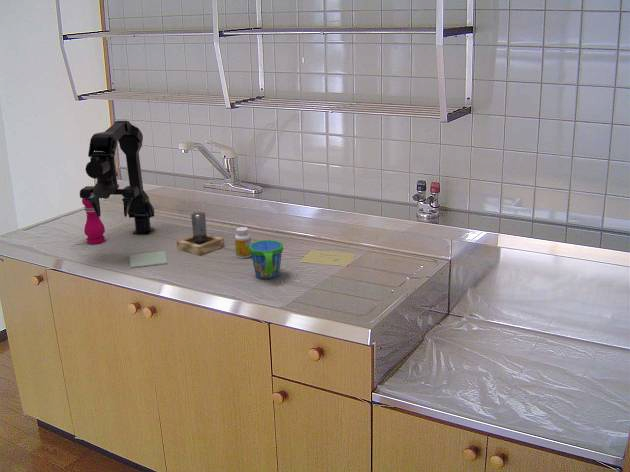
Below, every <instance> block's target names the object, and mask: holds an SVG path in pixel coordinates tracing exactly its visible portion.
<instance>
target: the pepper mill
mask: <svg viewBox="0 0 630 472" xmlns="http://www.w3.org/2000/svg"><path fill="white" fill-rule="evenodd" d="M84 199H85V198H81V203H82V205H83V206H84V212H85V213H86V222H85V225H84V234H85V236H86V241H87V244H89V245H100V244H103V243H104V242H105V241H106V239H105V235H104V234H105V232H106V229H105V226H104V223H103V222H102V220H101V218H100V217H98V215H97V214H96V212H95V210H94V208H93V206H92V205H91V203H90V202H88V201H87V200H84Z"/></svg>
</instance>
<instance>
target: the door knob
mask: <svg viewBox="0 0 630 472" xmlns="http://www.w3.org/2000/svg"><path fill="white" fill-rule="evenodd" d="M206 221H207V219H206V213H205V212H202V211H197V212H193V213H191V226H192V227H191V228H192V236H193V240H194V243H195V244H198V245H201V244H203V243H206V242H207V234H208V233H207V232H208V231H207V222H206Z"/></svg>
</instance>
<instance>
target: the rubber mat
mask: <svg viewBox="0 0 630 472" xmlns="http://www.w3.org/2000/svg"><path fill="white" fill-rule="evenodd" d="M129 261H130V262H129V263H130V264H129V265H130V269H136V268H146V267H155V266H160V265H161V266H162V265H168V264H169V263H168V258H167V254H166V251H165V250H163V251H156V252H147V253H136V254H129Z"/></svg>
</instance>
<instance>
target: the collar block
mask: <svg viewBox="0 0 630 472" xmlns="http://www.w3.org/2000/svg"><path fill="white" fill-rule="evenodd" d="M223 247H225V238H224V237H219V236H216V235H213V234H210V233H209V234H208V233H207V242H206V243H203V244H201V245H198V244H195V243H194V240H193V235H190V236H187V237H184V238H182V239H179V240H176V250H179V251H182V252H186V253H189V254H194V255H196V256H199V257H200V256H203V255H205V254H208V253H211V252H213V251H216V250H218V249H221V248H223Z"/></svg>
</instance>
